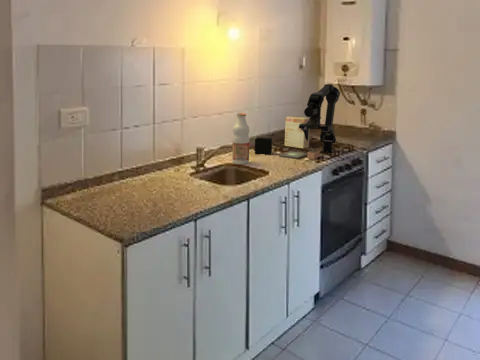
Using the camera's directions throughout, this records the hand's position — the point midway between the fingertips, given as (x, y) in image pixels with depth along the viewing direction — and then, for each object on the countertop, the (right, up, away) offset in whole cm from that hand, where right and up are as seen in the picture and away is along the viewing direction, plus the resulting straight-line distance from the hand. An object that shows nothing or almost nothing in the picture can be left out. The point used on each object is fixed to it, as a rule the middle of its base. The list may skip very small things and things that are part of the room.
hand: (314, 141), depth 316 cm
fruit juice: (-44, -13, -15) cm, 48 cm away
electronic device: (-30, -7, +11) cm, 33 cm away
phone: (0, -10, +2) cm, 10 cm away
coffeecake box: (-7, -1, +37) cm, 37 cm away
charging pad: (-11, -8, +7) cm, 16 cm away
